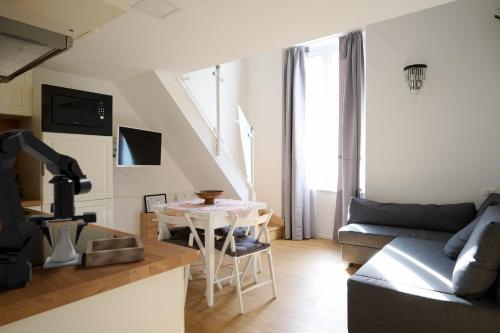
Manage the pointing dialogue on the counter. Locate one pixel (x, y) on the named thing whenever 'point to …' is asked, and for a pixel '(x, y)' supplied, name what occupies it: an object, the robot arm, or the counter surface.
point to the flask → (63, 247)
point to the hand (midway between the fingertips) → (64, 245)
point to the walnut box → (114, 250)
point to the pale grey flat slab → (56, 264)
